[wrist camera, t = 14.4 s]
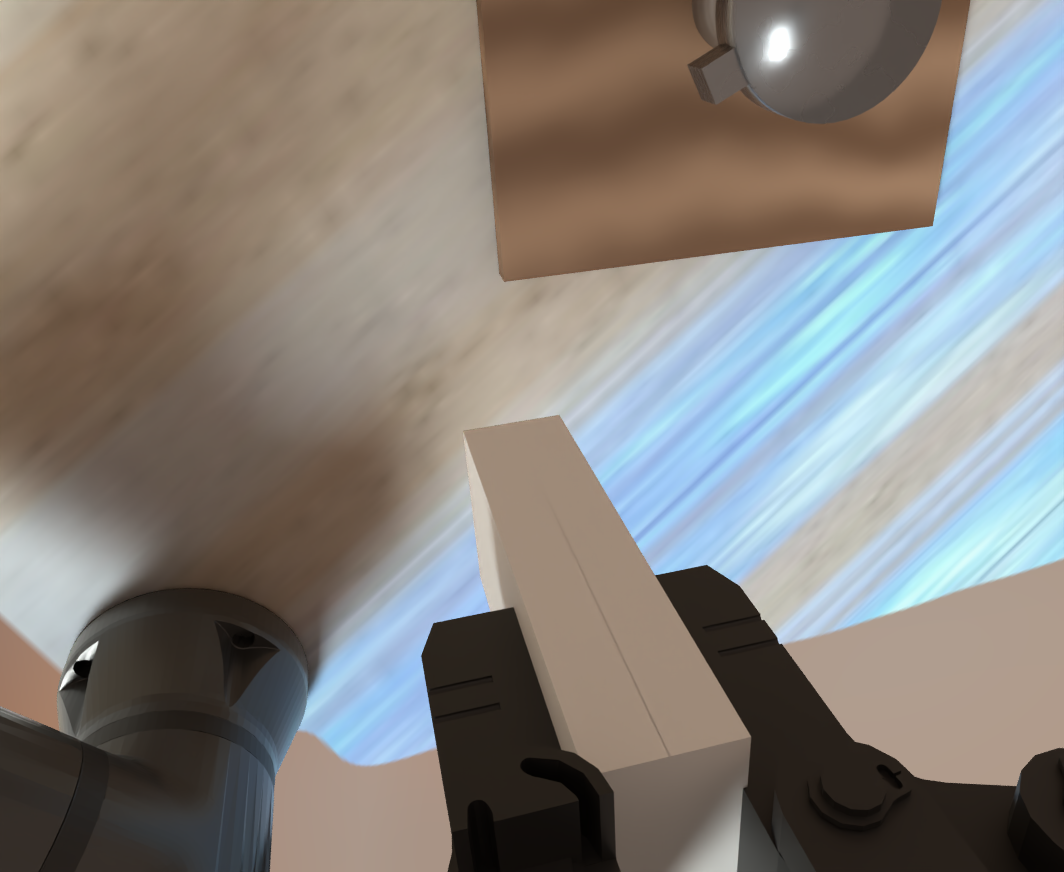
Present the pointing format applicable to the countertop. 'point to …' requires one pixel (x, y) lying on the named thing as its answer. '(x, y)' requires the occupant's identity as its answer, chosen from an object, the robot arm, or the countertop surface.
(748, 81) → the crank handle
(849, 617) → the countertop surface
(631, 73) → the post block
